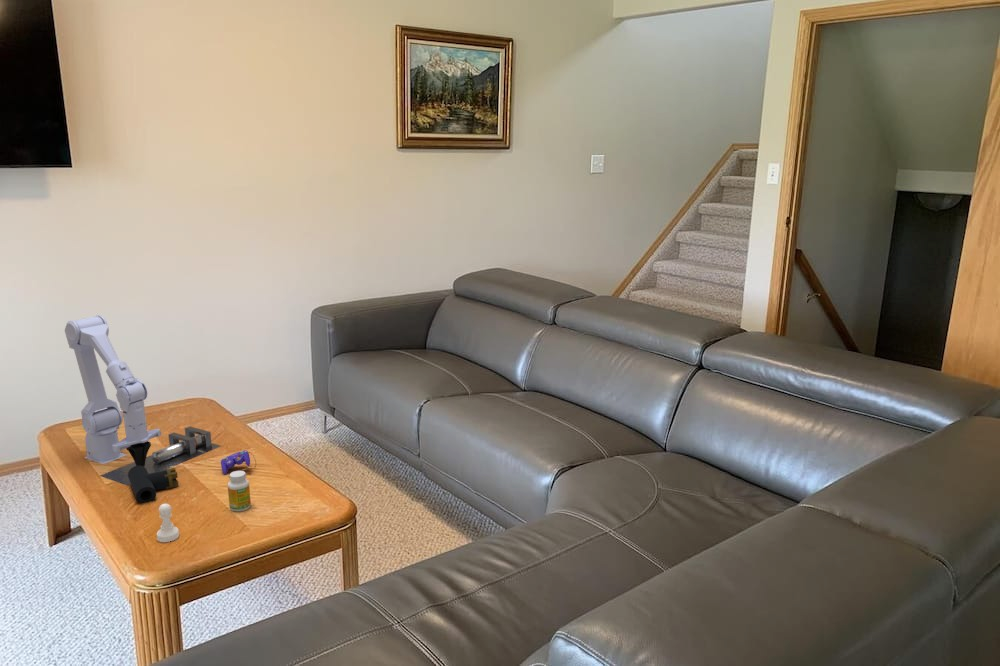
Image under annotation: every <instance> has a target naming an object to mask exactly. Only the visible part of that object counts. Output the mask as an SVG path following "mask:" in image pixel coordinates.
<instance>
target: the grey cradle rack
mask: <svg viewBox="0 0 1000 666" xmlns="http://www.w3.org/2000/svg"><path fill="white" fill-rule="evenodd" d="M167 435H168V443H169V444H168V445H169V446H171V445H174V444H176V443H179V442H181V441H185V447H186V452H185V453H182V454H180V455H177V456H175V457H172V458H170V459H168V460H165V461H163V462H160V463H158V464H156V463H155V462H154V461H153V459H152V454H151V455H149V456H146V461H145V466H144V467H145V468H146V470H147V472H148V474H150V473H154V472H159V471H162V470H166V469H171V468H175V466H178V465H181V464H183V463H186V462H188V461H189V460H192V459H194V458H197V457H200V456H203V455H204V454H206V453H208V452H211V451H213V450H216V449H218V448H221V447H222V445H220V444H216V443H212V434H211V431H208V430H204V429H200V428H197V427H194V426H187V427H184V434H181V433H177V432H171V433H169V434H167ZM196 435H201V439H202V446H200V447H197V448H195V438H192V437H194V436H196ZM134 466H136V464H135V461H134V462H131V463H128V464H125V465H122V466H121V467H118V468H115V469H112V470H110V471H108V472H105V473H103V474H101V475H99V476H100V477H101V478H104V479H107V480H111V481H113V482H116V483H119V484H122V485H125V486H127V487H128V486H131V483H130V481H129V478H128V472H129V470H130V469H131V468H132V467H134Z"/></svg>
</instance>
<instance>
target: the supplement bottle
mask: <svg viewBox="0 0 1000 666" xmlns="http://www.w3.org/2000/svg"><path fill="white" fill-rule="evenodd" d="M246 476H247V474H246V472H245V471H244V470H235V471H232V472H230V474H229V477H230V478H229V480H230V481H228V483H227V491H228V494H227V495H228V502H229V503H228V505H229V510H231V511H232V512H243V511H246V510H248V509H250V507H251V506H252V502H251V489H250V481H249V480H248V479H247V477H246Z"/></svg>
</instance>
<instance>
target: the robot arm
mask: <svg viewBox="0 0 1000 666" xmlns="http://www.w3.org/2000/svg"><path fill="white" fill-rule="evenodd" d="M108 325H109V324H108V322H107V320H106V319H105V318H104V317H103V316H102V315H98V314H97V315H96V316H91V317H87V318H82V319H76V320H68V321H67V322H66V325H65V328H64V334H65V337H66V340H67V344H68V347H69V349H72V350H73V351H74V355H75V358H76V362H77V366H78V369H79V373H80V377H81V381H82V384H83V386H84V390H85V395H86V398H87V403H86V405H85V406H84V407H83V408H82V409H81V411H80V413H81V415H80V416H81V425H82V429H83V430H84V431H85V432H86V434H85V437H84V441H85V448H86V454H87V456H85V457H84V459H87V460H90V461H92V462H95V463H98V464H101V465H106V464H107V463H110V462H112V461H113V462H114V461H115V460H118V459H121V458H123V457H126V456H127V455H128V454H126V453H123V452H121V451H122V450H125V449H126V450H127V451H128V453H129V454H130V456H131V458H132V459H133V461H134V462H135V464H136V466H138V465H139V466H143V467H144V466H145V461H146V457H148V456H147V455H148V453H149V450H150V448H151V446H152V442H150V441H149V440H151V439H155V438H156V437H158V438H159V437H161V436H162V431H161V430H162V429H159V428H155V429H152V430H148V426H147V418H146V409H145V401H144V400H146V399H147V398H148V390H147V387H146V385H145V383H144V382H143V381H141V380H140V379H139V378H137V377H135V376H134V374H133V372H132V371H131V369H130V367H129V366H128V364H127V362H125V361H123V360H120V359H119V357H118V354H117V353H116V350H115V348H114V346H113V345H112V342H111V341H110V339H109V334H110V333H109V331H110V330H109V326H108ZM95 352H96V353H97V354H98V356H99V357H100V358H101V360H102V362H103V363H104V364H105V365H106V366H107V367H106V370H105V373H106V374H107V376H108V378H109V379H110V381H111V383H112V385H113V386H114V388H115V390H116V394H115V397H116V399H117V401H118V403H119V406H118V403H117V402H116V401H114V400H112V399H109V398H108V396H107V393H106V390H105V385H104V381H103V378H102V374H101V369H100V367H99V364H98V360H97V357H96V356H97V355H96V353H95ZM123 422H124V423H123ZM122 423H123V424H124V431H125V432H124V433H125V438H123V439H121V440H120V441H119V433H118V430H119V429H120V426H121V425H122Z"/></svg>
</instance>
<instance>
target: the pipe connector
mask: <svg viewBox="0 0 1000 666" xmlns="http://www.w3.org/2000/svg"><path fill="white" fill-rule="evenodd" d="M178 477H179V476H178V472H177V471H176V468H175V467H171V468H169V469H166V470H162V471H159V472H154V473H150V474H148V472H147V470H146V468H145V467H143V466H139V465H138V466H134V467H132V468H131V469H130V470H129V472H128V478H129V481H130V483H131V485H130V486H131V489H132V492H133V495H134V497H135V499H136V501H137V503H138V504H147V503H151V502H153V501H155V499H156V498H157V497H156V496H157V491H159V490H160V491H162V490H165V489H166V490H167V489H172V488H177V487H179V481H178Z"/></svg>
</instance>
